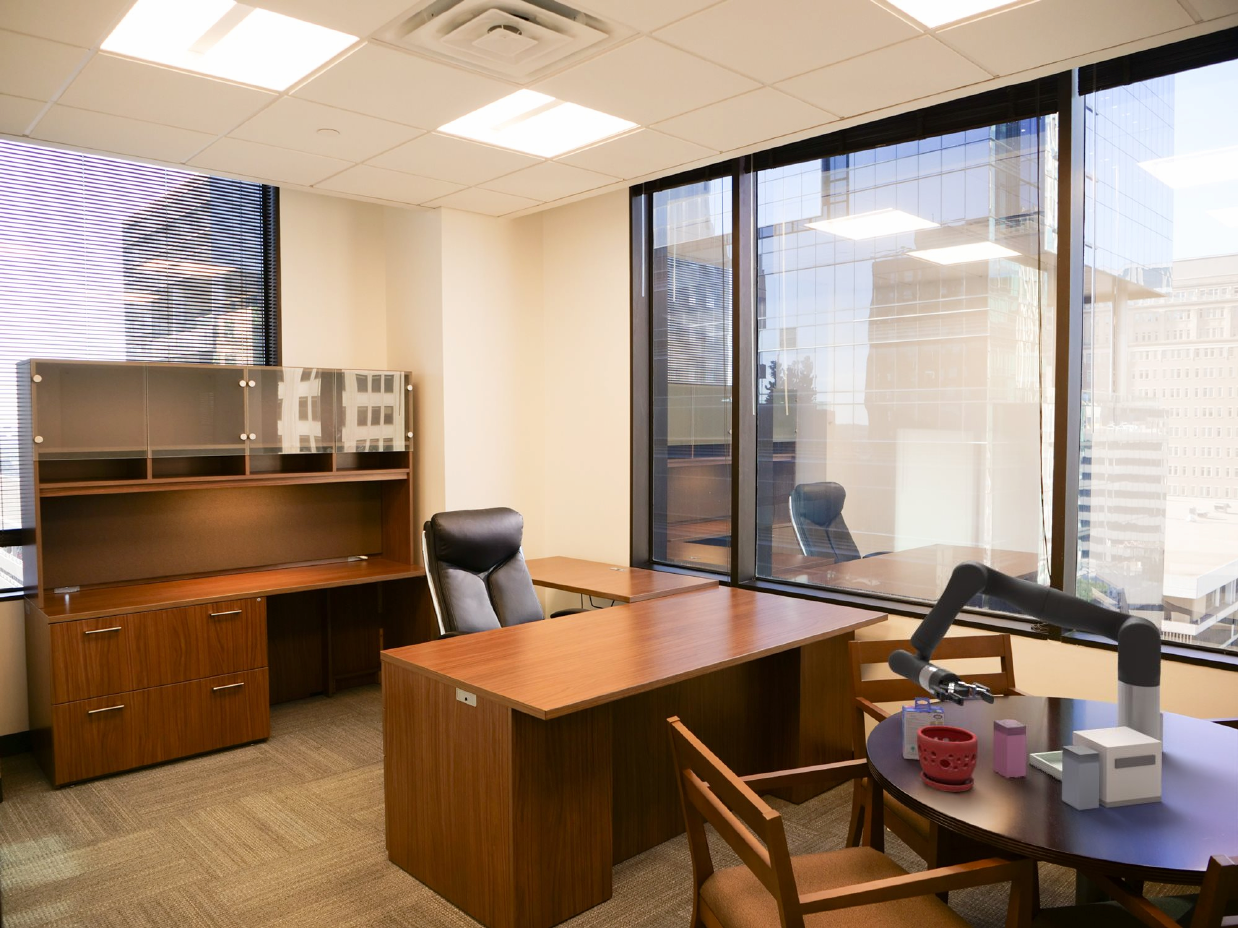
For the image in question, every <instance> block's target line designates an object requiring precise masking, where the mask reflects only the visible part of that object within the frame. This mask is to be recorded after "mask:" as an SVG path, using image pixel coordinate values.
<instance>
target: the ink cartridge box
mask: <svg viewBox="0 0 1238 928" xmlns="http://www.w3.org/2000/svg"><path fill="white" fill-rule="evenodd" d="M930 700H931V699H930V698H929V697H916V696H915V697H914V705H901V711H902V712H901V713H902V714H901V715H902V716H901V717H902V718H901V719H902V724H901V725H902V727H901V728H902V752H901V753H902V756H903V759H907V760H919V755H918V750H917V731H918V730H919V729H920V728H922V727H927V726H946V725H945V723H946V721H945V718H946V716H945V714H946V713H945V711H944V710H943V709H944V708H943V707H942V706H931V701H930ZM921 701H924V702H926V703H919V702H921ZM934 739H935V740H937V739H938V738H937V737H936V738H934ZM945 739H946V738H945ZM945 739H943V741H946V740H945Z"/></svg>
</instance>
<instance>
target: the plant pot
mask: <svg viewBox="0 0 1238 928" xmlns="http://www.w3.org/2000/svg"><path fill="white" fill-rule="evenodd" d="M936 737H937V738H938V739H937V740H935V739H934V738H936ZM943 739H947V740H948V741H947V740H945V741H943ZM978 741H979V740H978V736H977V735H976V734H975V733H973V732H971V731H969V730H967V729H964V728H961V727H955V726H948V725H945V726H927V727H922V728H920V729H919V730H918V731H917V750H918V755H919V759H918V761H919V763H920V766H921V768H922V770H921V772H920V778H921V779H922V781H923V782H924V783H925V784H926V785H928V786H929V787H931V788H933V789H936V790H939V791H944V792H951V793H953V792H955V793H959V792H965V791H967V790H970V789H971V788H972V787H974V785H975V778H974V776H972V775H973V773H974V771H975V768H976V767H977V766H976V765H977V760H978V747H979V745H978V744H979V743H978Z"/></svg>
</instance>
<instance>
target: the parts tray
mask: <svg viewBox="0 0 1238 928" xmlns="http://www.w3.org/2000/svg"><path fill="white" fill-rule="evenodd" d="M1030 764H1031V766H1032V765H1033V767H1034V766H1035V767H1034V768H1036V767H1037V768H1036V769H1038V770H1039V769H1041V770H1042V771H1041V770H1040V771H1041V772H1043V771H1044V772H1043V773H1045V772H1046V773H1045V774H1046V775H1048V774H1050V775H1052V776H1053V778H1054V777H1055V778H1054V779H1056V780H1058V781H1059V780H1060V781H1059V782H1061V783H1062V750H1058V751H1057V750H1056V751H1047V752H1038V753H1029V765H1030ZM1050 775H1049V776H1050ZM1052 776H1051V777H1052Z"/></svg>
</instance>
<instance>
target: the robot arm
mask: <svg viewBox="0 0 1238 928" xmlns="http://www.w3.org/2000/svg"><path fill="white" fill-rule="evenodd" d="M977 594H979V595H981V596H986V597H990V598H993V599H996V600H999V601H1002V602H1005V604H1009V605H1010V606H1012V607H1014V608H1015V609H1017V610H1019V611H1021V612H1022V613H1024V614H1025V615H1028V616H1030V617H1032V618H1034V619H1037V620H1039V621H1042V622H1045V623H1048V624H1050V625H1053V626H1055V627H1056V626H1057V627H1059V628H1065V629H1071V630H1076V631H1082V632H1089V633H1092V634H1096V635H1099V636H1102V637H1104V638H1107V639H1109V640H1111V641H1112V642H1113V641H1114V642H1116V643H1117V709H1116V710H1117V711H1116V712H1117V715H1116V716H1117V720H1116V721H1117V722H1116V723H1117V724H1116V725H1117V726H1116V727H1124V726H1126V727H1128V728H1130V729H1133V730H1135V731H1137V732H1140V733H1142V734H1145V735H1147V736H1149V737H1152V738H1154V739H1156V740H1159V741H1161V742H1162V752H1163V749H1164V748H1163V747H1164V744H1163V742H1164V713H1162V712H1161V674H1162V673H1161V672H1162V666H1161V665H1162V638H1161V632H1160V630H1159V628H1158V626H1157V625H1156V624H1155V623H1154V622H1153V621H1152V620H1150V619H1147V618H1145V617H1142V616H1139V615H1133V614H1129V613H1126V612H1125V613H1124V612H1121V611H1116V610H1114V609H1109V608H1106V607H1103V606H1100V605H1098V604H1095V603H1093V602H1091V601H1088V600H1085V599H1084V598H1082V597H1078V596H1077V595H1076V596H1075V595H1073V594H1070V593H1068V592H1065V591H1062V590H1059V589H1057V588H1054V587H1050V586H1047V585H1044V584H1041V583H1037V582H1034V581H1031V580H1026V579H1022V578H1018V577H1014V576H1011V575H1008V574H1006V573H1003V572H1002V571H999V570H996V569H994V568H992V567H990V566H988V565H986V564H984V563H981V562H980V561H975V560H965V561H962V562H961V563H959V564H958V565H956V566H955V567H954V569H953V570H952V572H951V576H950V578H949V579H948V581H947V584H946V586H945V589H944V591H943V592H942V594H941V596H940V597H939V599H938V600H937V602H936V603H935V605H934V606H933V607H932V609H931V610H930V611H929V612H928V613H927V614H926V616H925V617H924V619H923V620H922V621H921V622H920V624H919V625H918V627H917V628H916V629H915V631H914V632H913V633H912V635H911V637H910V639H909V641H910V642H909V643H910V644H911V646H912V647H913V649H915V650H916V653H915V654H912V653H911V652H909V651H906V650H904V649H897V650H894V651H892V652H891V653H890V654H889V656H888V660H887V663H888V667H889V669H890V670H891V672H892V673H894V674H896V675H899V676H901V677H903V678H906V679H908V680H909V681H912V682H913V683H915V684H916V685H918V686H919V687H922V688H923V689H925V690H926V691H928V692H929V693H930V696H931V697H933V698H935V699H936V700H938V701H940V702H942V703H943V702H946V701H947V702H949V703H953V704H955V705H957V706H959V707H963V706H964V702H965V699H968V700H976V699H978V700H982V701H983V702H986V703H987V704H990V705H994V702H995V696H994V695H993V694H991V688H990V687H987V686H984V685H983V684H981V683H978V682H973V683H972V684H967V683H966V682H964V681H962V679H961V678H960V676H959V675H958V674H956V673H954V672H952V671H950V670H948V669H946V668H944V667H942V666H939V665H935V664H934V663H932V662H930V661H931V658H932V655H933V653H934V651H935V650H936V648H937V647H938V646H939V644H940V643H941V641H942V640H943V638H944V637H945V636H946V635H947V633H948V631H949V629H950V627H951V626H952V624H953V622H955V621H954V620H955V619H956V618H957V616H958V615H959V613H960V612H961V611H962V610H963V609H964V607H965V606H967V604H968V603H969V602H970V601H971V600H972V599H974V597H975V596H976V595H977ZM970 691H971V692H970ZM970 693H971V695H970Z"/></svg>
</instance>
